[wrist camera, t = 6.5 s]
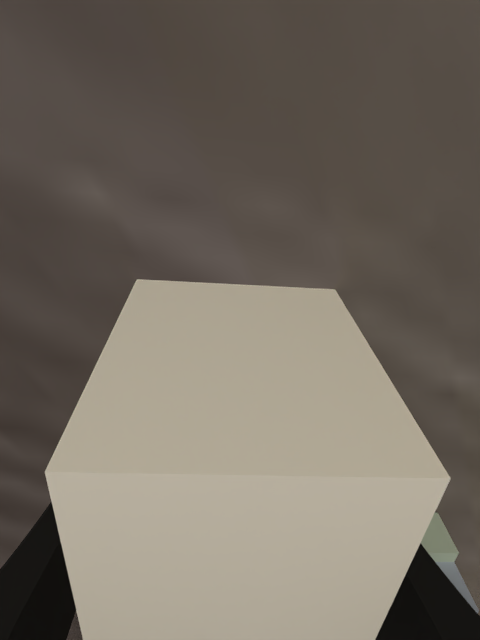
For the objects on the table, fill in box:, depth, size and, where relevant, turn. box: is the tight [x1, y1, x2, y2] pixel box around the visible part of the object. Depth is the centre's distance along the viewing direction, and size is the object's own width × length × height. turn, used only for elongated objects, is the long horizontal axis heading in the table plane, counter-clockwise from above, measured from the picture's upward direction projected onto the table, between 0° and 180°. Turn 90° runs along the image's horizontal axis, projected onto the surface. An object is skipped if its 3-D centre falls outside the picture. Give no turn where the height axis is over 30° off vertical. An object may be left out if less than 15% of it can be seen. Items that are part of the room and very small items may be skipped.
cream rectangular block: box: [45, 279, 451, 640], centre depth 10 cm, size 5×10×6 cm, turn 176°
